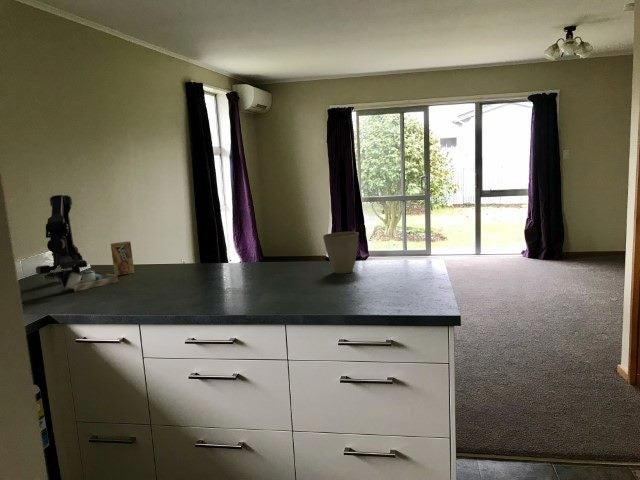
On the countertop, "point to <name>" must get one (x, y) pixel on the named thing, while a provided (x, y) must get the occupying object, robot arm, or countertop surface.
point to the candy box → (122, 258)
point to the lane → (96, 283)
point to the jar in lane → (88, 276)
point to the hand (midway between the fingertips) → (64, 287)
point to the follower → (98, 277)
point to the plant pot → (342, 250)
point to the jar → (73, 279)
